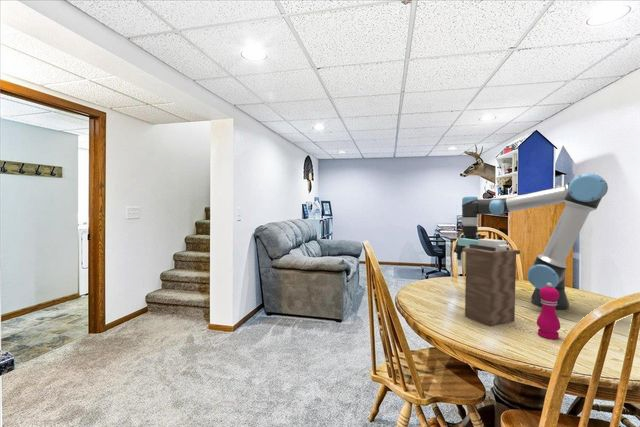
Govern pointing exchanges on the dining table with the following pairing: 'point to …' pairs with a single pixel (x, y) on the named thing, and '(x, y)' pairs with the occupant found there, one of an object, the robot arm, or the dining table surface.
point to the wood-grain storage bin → (490, 284)
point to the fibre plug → (485, 243)
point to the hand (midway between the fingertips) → (469, 265)
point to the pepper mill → (548, 313)
